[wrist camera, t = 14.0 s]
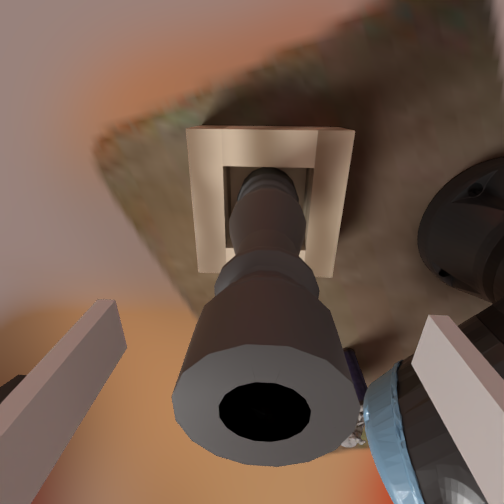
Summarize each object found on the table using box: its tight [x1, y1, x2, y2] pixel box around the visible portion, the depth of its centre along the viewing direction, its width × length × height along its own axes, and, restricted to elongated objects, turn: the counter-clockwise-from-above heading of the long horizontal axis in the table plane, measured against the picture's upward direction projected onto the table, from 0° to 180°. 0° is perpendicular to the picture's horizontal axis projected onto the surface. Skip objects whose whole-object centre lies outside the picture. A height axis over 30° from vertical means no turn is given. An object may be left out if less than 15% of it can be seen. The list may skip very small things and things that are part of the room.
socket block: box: [186, 125, 355, 278], centre depth 29 cm, size 14×14×6 cm
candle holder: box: [172, 167, 361, 467], centre depth 20 cm, size 6×6×25 cm
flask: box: [341, 348, 368, 447], centre depth 39 cm, size 9×3×11 cm, turn 172°
